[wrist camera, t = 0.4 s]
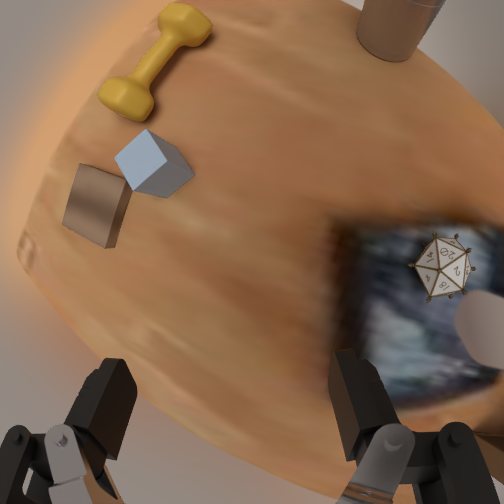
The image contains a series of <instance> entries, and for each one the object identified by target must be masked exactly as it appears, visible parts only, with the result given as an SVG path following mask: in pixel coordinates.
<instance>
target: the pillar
mask: <svg viewBox="0 0 504 504" xmlns="http://www.w3.org/2000/svg"><path fill="white" fill-rule="evenodd" d="M114 159H115V160H116V162H117V164H118V166H119V167H120V169H121V171H122V173H123V174H124V176H125V178H126V180H127V181H128V183H129V185H130V187H131V188H132V190H133V191H136V192H141V193H146V194H150V195H155V196H160V197H165V198H168V197H169V196H170V195H171V194H173V193H174V192H175V191H176V190H177V189H179V188H180V187H181V186H182V185H184V184H185V183H186V182H187V181H189V180H190V179H191V178H192V177H194V176H195V174H194V172H193V171H192V169H191V168H190V166H189V165H188V163H187V162H186V161H185V159H184V158H183V156H182V155H181V153H180V152H179V150H178V149H177V148H176V147H175V146H173V145H172V144H170V143H168V142H167V141H165V140H164V139H162V138H161V137H159V136H157V135H156V134H154V133H153V132H151V131H149V130H148V129H145V130H144V131H143V132H141V133H140V134H139V135H138V136H137V137H136V138H135V139H134V140H133V141H131V142H130V143H129V144H128V145H127V146H126V147H125V148H124V149H123V150H122V151H121V152H120V153H119V154H118V155H117V156H115V157H114Z"/></svg>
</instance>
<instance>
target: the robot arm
mask: <svg viewBox="0 0 504 504" xmlns="http://www.w3.org/2000/svg"><path fill="white" fill-rule="evenodd" d="M445 1H446V0H365V1H364V5H363V9H362V13H361V16H360V20H359V23H358V27H357V37H358V39H359V41H360V43H361V44H362V45H363V46H364V48H366V49H367V50H368V51H369V52H370V53H372V54H373V55H375V56H377V57H379V58H381V59H384V60H387V61H392V62H400V61H404V60H407V59H408V58H409V57H410V56H411V55H412V53H413V52H414V50H415V48H416V47H417V45H418V44H419V42H420V41H421V39H422V38H423V36H424V35H425V33H426V31H427V30H428V28H429V27H430V25H431V23H432V22H433V20H434V19H435V17H436V15H437V14H438V13H439V11H440V9H441V8H442V6H443V4H444V3H445ZM328 388H329V393H330V397H331V401H332V405H333V409H334V412H335V416H336V420H337V424H338V428H339V432H340V436H341V440H342V444H343V448H344V452H345V457H346V461H347V462H348V461H352V460H355V461H356V464H357V469H356V471H355V473H354V475H353V476H352V478H351V480H350V482H349V483H348V485H347V487H346V488H345V490H344V491H343V493H342V495H341V496H340V498H339V499H338V501H337V502H336V504H393V501H392V499H393V496H394V494H395V492H396V489H397V487H398V485H399V484H412V487H413V491H414V495H415V499H416V503H417V504H500V501H499V498H498V495H497V492H496V489H495V486H494V483H493V480H492V478H491V475H490V472H489V470H488V467H487V465H486V462H485V460H484V457H483V455H482V452H481V450H480V448H479V445H478V443H477V441H476V438H475V436H474V434H473V432H472V430H471V429H470V427H469V426H467V425H466V424H464V423H462V422H451V423H448V424H447V425H445V426H444V427H443V428H442V429H441V430H440V432H414V431H411V430H410V429H409V428H408V427H406V426H404V425H402V424H401V423H400V421H399V419H398V417H397V415H396V412H395V410H394V408H393V405H392V403H391V401H390V398H389V396H388V394H387V392H386V389H384V385H383V383H382V380H380V376H379V374H378V372H377V369H376V367H374V366H373V365H372V364H371V363H370V362H369V361H368V360H367V359H364V360H359V361H358V360H357V358H356V355H355V353H354V351H353V349H352V348H348V349H342V350H335V351H332V352H331V359H330V367H329V375H328ZM136 398H137V386H136V383H135V381H134V379H133V377H132V375H131V373H130V371H129V369H128V366H127V364H126V362H125V361H124V360H123V359H116V358H105V359H104V360H103V362H102V364H101V365H100V367H99V369H95V370H94V371H93V372H92V373H91V374H90V375H89V376H88V377H87V378H86V380H85V382H84V384H83V386H82V388H81V390H80V392H79V396H77V398H76V400H75V402H74V404H73V406H72V408H71V410H70V412H69V414H68V416H67V418H66V420H65V422H64V424H59V425H56V426H53V427H52V428H50V429H49V430H48V432H47V433H46V434H31V433H30V432H29V430H28V429H27V428H26V427H24V426H22V425H16V426H14V427H12V428H11V429H9V431H8V432H7V434H6V436H5V438H4V440H3V442H2V445H1V447H0V504H125V503H124V502H123V500H122V498H121V496H120V495H119V492H118V490H117V488H116V486H115V484H114V482H113V480H112V478H111V475H110V473H109V471H108V469H107V467H106V465H105V461H106V458H107V459H111V460H117V457H118V453H119V451H120V447H121V444H122V440H123V438H124V435H125V431H126V428H127V425H128V422H129V419H130V416H131V413H132V410H133V407H134V404H135V401H136ZM28 468H30V469H32V470H33V475H32V477H31V480H30V484H29V487H28V490H27V493H26V495H24V493H23V490H22V486H23V483H24V480H25V477H26V474H27V471H28Z"/></svg>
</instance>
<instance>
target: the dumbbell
mask: <svg viewBox="0 0 504 504" xmlns="http://www.w3.org/2000/svg"><path fill="white" fill-rule="evenodd" d="M212 26H213V25H212V23H211V21H210V20H209V19H208V18H207V17H206V16H205V15H204V14H203V13H202V12H201V11H199V10H198V9H197V8H195V7H193V6H191V5H187V4H182V3H176V2H173V3H169V4H168V5H167V6H166V7H165V8H164V9H163V10H162V11H161V12H160V14H159V17H158V28H159V30H160V31H161V36H160V38H159V39H158V40H157V42H156V43H155V44H154V45H153V46H152V47H151V48H150V49H149V51H148V52H147V53H146V54H145V55H144V57H143V58H142V60H141V61H140V63H139V64H138V66H137V67H136V69H135V70H134V71H133V72H132V73H131V74H130V75H128V76H125V77H112V78H109V79H108V80H106V81H105V83H104V84H103V85H102V87H101V88H100V90H99V92H98V95H97V96H98V99H99V100H100V102H101V103H102V104H103V105H105V106H106V107H107V108H109V109H110V110H112V111H114V112H115V113H117V114H119V115H121V116H123V117H125V118H127V119H130V120H133V121H137V122H142V121H144V120H146V118H147V117H148V115H149V114H150V112H151V111H152V109H153V106H154V100H153V97H152V95H151V94H150V90H149V88H150V84H151V82H152V81H153V79H154V78H155V77H156V76H157V74H158V73H159V72H160V70H161V69H162V68H163V66H164V65H165V64H166V63H167V61H168V60H169V59H170V57H171V56H172V55H173V53H174V52H175V51H176V50H177V49H178V48H179V47H180V46H183V45H186V46H190V47H196V46H199V45H200V44H202V43H203V42H204V41H205V39H206V38H207V37H208V36H209V34H210V33H211V30H212Z"/></svg>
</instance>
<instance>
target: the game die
mask: <svg viewBox="0 0 504 504" xmlns="http://www.w3.org/2000/svg"><path fill="white" fill-rule="evenodd" d="M433 237H434V239H433V240H432V241H431V242H430V243H429V244H428V245H426V243H423V247H425V249H424V250H423V252H422V254H421V255H420V257H419V258H418V260H417V261H416V263H415V264H413V263H410V264H408V266H410V267H415V269H416V271H417V273H418V275H419V277H420V279H421V280H420V282H419V283H423V284H424V287H425V289H426V291H427V293H428V295H429V297H428V298H427V299H426V300H427V303H428V302H430V300H431V297H436V296H443V295H449V298H450V299H452V297H453V296H452V294H453V293H456V292H459V291H462V293H463V295H467V291H466V290H465V289H464V286H465V284H466V281H467V279H468V276H469V274H470V271H471V270H472V271H475V270H476V268H475V267H471V265H470V261H469V258H468V254H467V253H469V252H471V249H472V248H468V249H467V250H465V249H464V248H463V247H462V245H461V244H460V243H459V242H458V241H457V238H458V233H457V234H456V235H455V236H454V237H455V238H440V237H437V233H436V232H434V231H433Z"/></svg>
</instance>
